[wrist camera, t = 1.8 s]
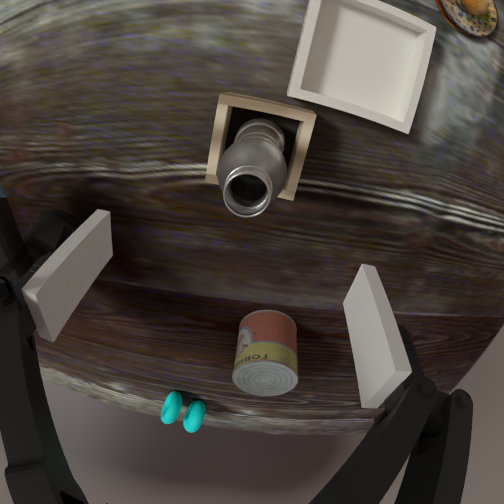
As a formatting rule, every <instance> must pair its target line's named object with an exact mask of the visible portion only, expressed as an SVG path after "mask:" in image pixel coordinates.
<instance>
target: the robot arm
mask: <svg viewBox="0 0 504 504" xmlns="http://www.w3.org/2000/svg"><path fill="white" fill-rule="evenodd" d="M112 256H113V252H112V238H111V221H110V211H104V210H99V209H98V210H97V211H95V212H94V213H93V214H92V215H91V216H90V217H89V218H88V219H87V220H86V221H85V222H84V223H83V224H82V225H80V224H79V223H78V222H77V221H76V220H75V219H74V218H73V217H71V216H70V215H68V214H67V213H65V212H62V211H59V210H47V211H45V212H43V213H42V214H41V215H40V216H38V217H37V218H36V219H35V220H34V222H33V223H32V225H31V227H30V231H29V232H28V233H27V235H26V237H25V239H24V241H23V239H22V237H21V234H20V232H19V229H18V227H17V224H16V222H15V219H14V217H13V214H12V211H11V209H10V206H9V203H8V200H7V195H6V194H5V193H4V190H3V188H2V185H1V183H0V430H1V435H2V440H3V444H4V448H5V452H6V456H7V460H8V467H7V468H6V469H5V478H6V482H7V485H8V488H9V491H10V494H11V497H12V500H13V502H14V504H89V503H88V501H87V499H86V497H85V495H84V493H83V492H82V490H81V488H80V487H79V485H78V484H77V483H76V481H75V479H74V478H73V476H72V473H71V471H70V469H69V466H68V463H67V461H66V458H65V456H64V453H63V450H62V447H61V445H60V442H59V439H58V436H57V433H56V430H55V427H54V423H53V420H52V417H51V413H50V410H49V406H48V402H47V398H46V395H45V390H44V387H43V382H42V377H41V373H40V368H39V363H38V357H37V352H36V346H35V339H34V336H33V332H34V331H35V329H36V328H37V331H38V333H39V335H40V337H41V338H44V339H46V340H48V341H51V342H54V341H55V339H56V337H57V336H58V334H59V333H60V331H61V329H62V328H63V326H64V325H65V323H66V322H67V320H68V318H69V317H70V315H71V314H72V312H73V311H74V309H75V308H76V306H77V305H78V303H79V302H80V300H81V299H82V297H83V296H84V295H85V293H86V292H87V290H88V289H89V287H90V286H91V284H92V283H93V282H94V280H95V279H96V277H97V276H98V275H99V273H100V272H101V271H102V269H103V268H104V266H105V265H106V264H107V262H108V261H109V260H110V258H111V257H112ZM343 306H344V310H345V315H346V320H347V325H348V330H349V335H350V340H351V345H352V351H353V356H354V362H355V368H356V374H357V380H358V386H359V392H360V399H361V406H362V408H378V407H379V406H380V405H381V404H382V403H383V402H385V407H386V409H385V410H384V411H383V412H382V413H380V414H379V415H378V416H377V417H376V418H375V419H374V421H376V422H375V423H374V425H373V426H372V427H371V429H370V430H369V432H368V433H367V434H366V436H365V437H364V439H363V440H362V441H361V443H360V444H359V445H358V447H357V448H356V449H355V451H354V452H353V453H352V454H351V456H350V457H349V458H348V460H347V461H346V462H345V463H344V465H343V466H342V467H341V468H340V469H339V471H338V472H337V473H336V474H335V475H334V476H333V478H332V479H331V480H330V481H329V482H328V483H327V484H326V486H325V487H324V488H323V489H322V490H321V491H320V492H319V493H318V494H317V495H316V497H315V498H314V499H313V500H312V501H311V502H310V503H309V504H379V503H380V501H381V500H382V498H383V497H384V495H385V494H386V492H387V491H388V489H389V488H390V486H391V485H392V483H393V481H394V480H395V478H396V477H397V475H398V473H399V472H400V470H401V468H402V466H403V465H404V463H405V461H406V460H407V458H408V456H409V454H410V457H409V460H408V464H407V467H406V471H405V474H404V477H403V480H402V483H401V486H400V489H399V492H398V495H397V498H396V501H395V503H394V504H460V502H461V498H462V493H463V488H464V483H465V477H466V471H467V465H468V457H469V450H470V441H471V430H472V416H473V402H472V400H471V397H470V395H469V394H468V393H467V392H466V391H464V390H462V389H456V390H455V391H454V392H453V393H452V394H450V395H449V394H446V393H443V392H440V391H438V390H437V387H436V385H435V384H434V382H433V381H432V380H431V379H429V378H427V377H424V374H423V371H422V368H421V365H420V362H419V359H418V356H417V353H416V352H415V347H414V345H413V341H412V339H411V336H410V333H409V332H408V331H407V329H406V328H405V327H404V326H403V325H397V324H396V321H395V318H394V315H393V312H392V310H391V307H390V304H389V301H388V299H387V296H386V293H385V291H384V288H383V286H382V283H381V281H380V278H379V276H378V273H377V271H376V268H375V267H374V266H370V265H365V264H362V265H361V267H360V269H359V271H358V273H357V276H356V278H355V280H354V282H353V284H352V286H351V288H350V290H349V292H348V294H347V296H346V298H345V300H344V302H343Z"/></svg>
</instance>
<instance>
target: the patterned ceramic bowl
mask: <svg viewBox="0 0 504 504" xmlns="http://www.w3.org/2000/svg"><path fill="white" fill-rule="evenodd" d="M435 3H436V4H437V5H438V6H439V8H440V10H439V11H440V12H441V14H442V15H443V17H444V18H445V19H446V20H447V21H448V23H449V24H451V25H452V26H453V27H454V28H455V29H456V30H458V31H459V32H461V33H462V34H464V35H466V36H469V37H473V38H479V37H486V36H489V35H491V34H492V33H493V32H494V31H495V29H496V28H497V24H498V14H497V9H496V6H495V3H494V1H493V0H435Z"/></svg>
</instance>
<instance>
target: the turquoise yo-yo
mask: <svg viewBox="0 0 504 504" xmlns="http://www.w3.org/2000/svg"><path fill="white" fill-rule="evenodd" d="M181 407H182V396H181V394H180V393H179V392H177V391H173V392H171V393H170V394H169V395H168V397H167V399H166V401H165V403H164V406H163V409H162V412H161V419H162V421H163V422H164V423H165V424H171V423H172V422H174V421H175V420H176V418H177V417H178V415H179V413H180V410H181ZM204 416H205V404H204V403H203V402H202V401H200V400H196V401H194V402H192V403H191V404H190V405H189V407H188V408H187V410H186V413H185V416H184V422H183V423H184V428H185V429H186V431H188V432H191V433H192V432H195V431H197V430H198V429H199V427H200V426H201V424H202V422H203V419H204Z"/></svg>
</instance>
